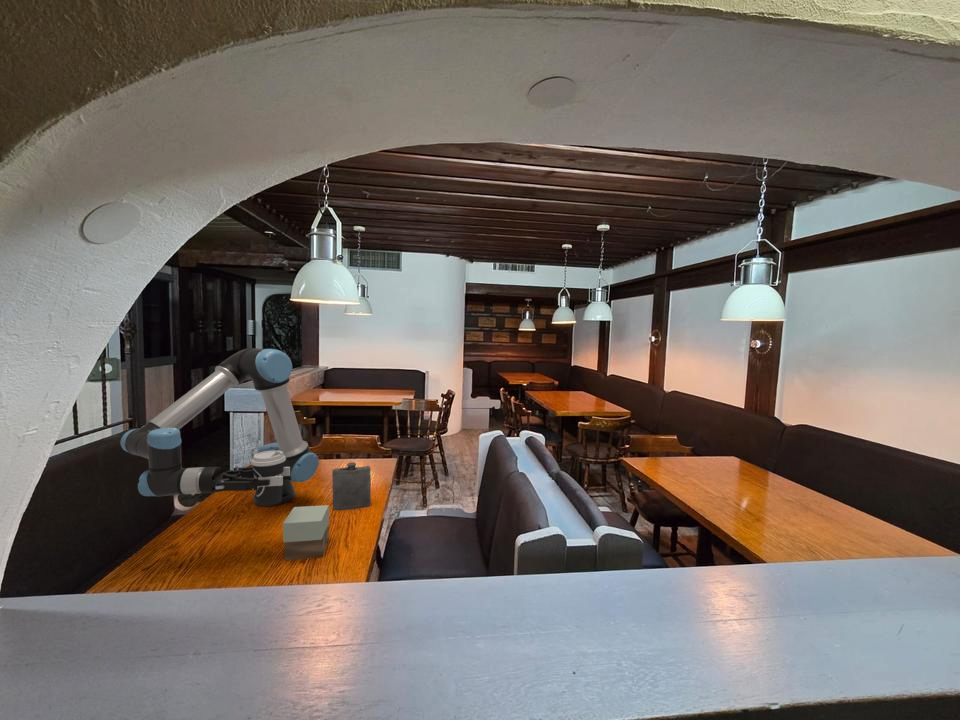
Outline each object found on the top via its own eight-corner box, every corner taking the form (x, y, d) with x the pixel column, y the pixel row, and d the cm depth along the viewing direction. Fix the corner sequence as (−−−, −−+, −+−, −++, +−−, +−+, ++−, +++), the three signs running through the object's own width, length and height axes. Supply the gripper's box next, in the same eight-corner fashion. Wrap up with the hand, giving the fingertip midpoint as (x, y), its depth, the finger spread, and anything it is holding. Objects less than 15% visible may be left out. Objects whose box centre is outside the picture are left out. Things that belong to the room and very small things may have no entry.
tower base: (293, 542, 129) (293, 525, 129) (328, 539, 132) (328, 522, 131) (284, 561, 118) (284, 542, 118) (323, 557, 121) (322, 539, 120)
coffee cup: (271, 510, 115) (270, 460, 114) (244, 506, 117) (242, 457, 116) (293, 497, 124) (292, 451, 123) (267, 493, 126) (266, 448, 125)
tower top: (294, 524, 129) (293, 507, 129) (329, 522, 131) (328, 505, 130) (283, 542, 118) (282, 523, 118) (321, 539, 120) (321, 520, 120)
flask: (370, 507, 155) (370, 463, 154) (332, 511, 151) (331, 466, 150) (370, 503, 158) (370, 460, 157) (333, 507, 154) (332, 463, 153)
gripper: (219, 479, 126) (295, 475, 131) (185, 507, 107) (276, 501, 111) (218, 457, 126) (294, 453, 130) (184, 480, 106) (275, 475, 111)
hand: (286, 475), depth 121 cm, fingers closed on coffee cup, 7 cm apart
